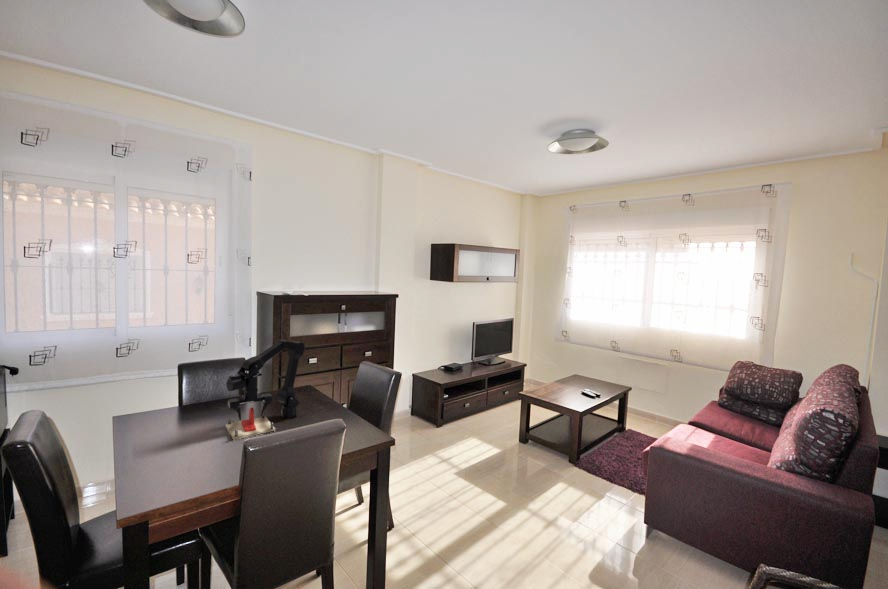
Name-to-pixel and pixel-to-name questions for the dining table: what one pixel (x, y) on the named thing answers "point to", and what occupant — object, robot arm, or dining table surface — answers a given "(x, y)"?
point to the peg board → (239, 432)
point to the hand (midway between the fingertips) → (250, 418)
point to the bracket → (249, 422)
